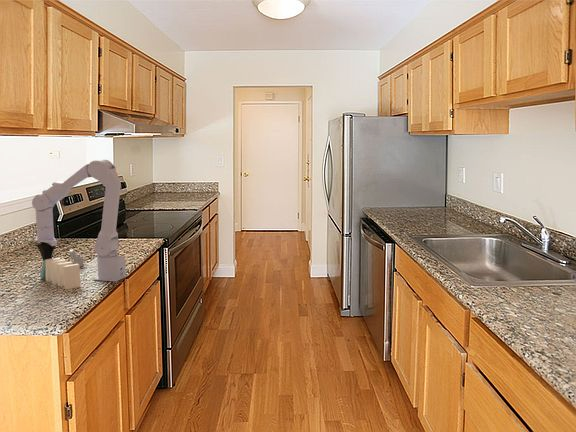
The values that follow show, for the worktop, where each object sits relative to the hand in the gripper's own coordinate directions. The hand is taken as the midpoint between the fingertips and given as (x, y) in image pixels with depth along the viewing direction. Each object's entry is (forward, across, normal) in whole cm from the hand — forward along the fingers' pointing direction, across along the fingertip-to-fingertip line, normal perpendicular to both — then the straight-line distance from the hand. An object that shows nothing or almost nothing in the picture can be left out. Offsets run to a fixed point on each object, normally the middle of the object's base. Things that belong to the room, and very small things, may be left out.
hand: (47, 262), depth 200 cm
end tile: (+6, 0, 0) cm, 6 cm away
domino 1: (+6, +5, 0) cm, 7 cm away
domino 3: (+6, +15, 0) cm, 16 cm away
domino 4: (+6, +20, 0) cm, 20 cm away
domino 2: (+6, +10, 0) cm, 11 cm away
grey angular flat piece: (+6, -8, +15) cm, 18 cm away
